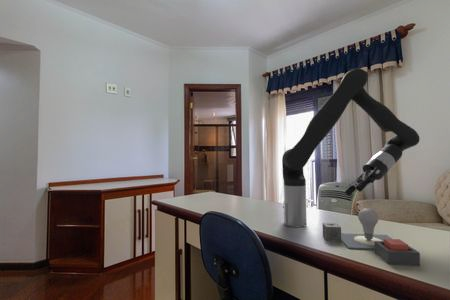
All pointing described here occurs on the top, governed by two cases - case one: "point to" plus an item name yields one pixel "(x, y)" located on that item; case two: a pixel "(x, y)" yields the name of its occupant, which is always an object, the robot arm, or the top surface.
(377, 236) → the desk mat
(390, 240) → the button
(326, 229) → the dice cube
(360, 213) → the lightbulb
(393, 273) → the top surface
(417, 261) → the button box
